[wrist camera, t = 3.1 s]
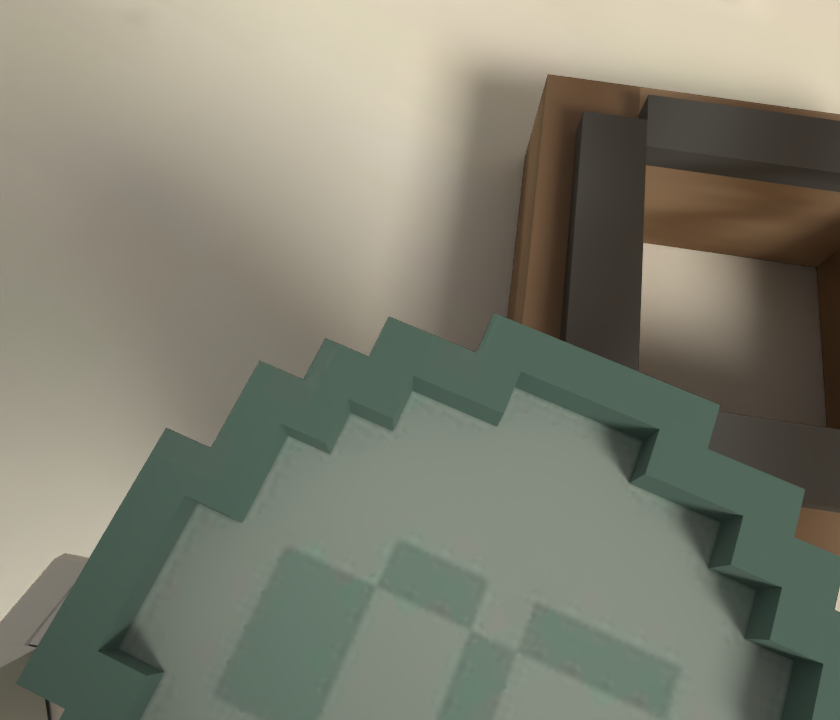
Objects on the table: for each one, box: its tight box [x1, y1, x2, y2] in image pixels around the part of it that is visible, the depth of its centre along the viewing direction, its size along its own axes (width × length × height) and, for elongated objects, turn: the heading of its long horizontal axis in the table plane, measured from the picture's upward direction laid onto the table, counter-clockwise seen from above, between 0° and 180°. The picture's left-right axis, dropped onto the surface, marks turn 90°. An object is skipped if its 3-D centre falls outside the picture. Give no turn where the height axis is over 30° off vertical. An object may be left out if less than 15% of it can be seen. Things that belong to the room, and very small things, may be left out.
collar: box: [507, 74, 840, 556], centre depth 20 cm, size 13×13×5 cm
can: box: [15, 313, 840, 720], centre depth 12 cm, size 6×6×15 cm
